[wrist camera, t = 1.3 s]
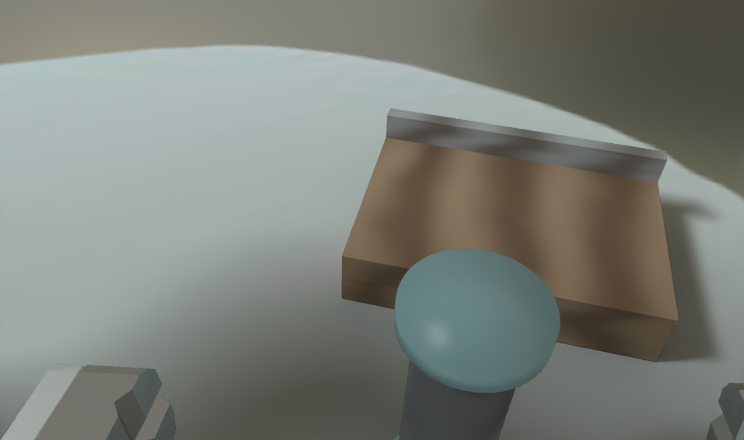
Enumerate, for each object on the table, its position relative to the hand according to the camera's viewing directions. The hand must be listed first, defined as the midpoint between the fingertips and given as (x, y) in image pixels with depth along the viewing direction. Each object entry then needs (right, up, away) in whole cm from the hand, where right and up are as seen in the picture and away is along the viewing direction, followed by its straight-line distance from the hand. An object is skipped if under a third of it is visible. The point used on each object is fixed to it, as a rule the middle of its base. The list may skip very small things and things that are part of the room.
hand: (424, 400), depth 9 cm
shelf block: (+9, 0, +37) cm, 38 cm away
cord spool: (+3, -11, +24) cm, 27 cm away
